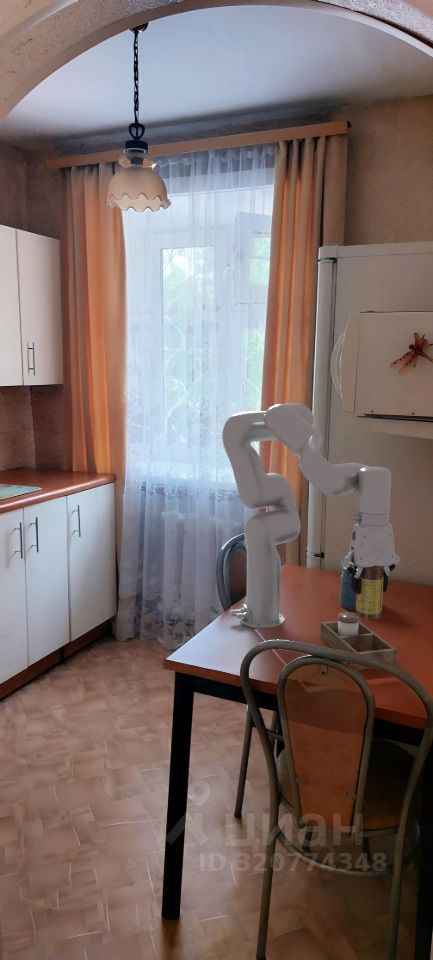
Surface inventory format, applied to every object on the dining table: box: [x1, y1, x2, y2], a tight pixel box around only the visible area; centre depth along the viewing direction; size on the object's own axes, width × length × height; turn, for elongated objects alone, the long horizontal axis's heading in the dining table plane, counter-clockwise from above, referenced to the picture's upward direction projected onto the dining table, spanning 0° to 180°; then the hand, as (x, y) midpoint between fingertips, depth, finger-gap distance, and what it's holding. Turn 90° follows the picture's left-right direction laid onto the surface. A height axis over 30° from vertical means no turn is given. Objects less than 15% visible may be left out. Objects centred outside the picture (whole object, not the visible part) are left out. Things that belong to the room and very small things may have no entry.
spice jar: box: [337, 611, 360, 637], centre depth 172 cm, size 5×5×7 cm
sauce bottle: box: [355, 565, 384, 621], centre depth 160 cm, size 7×6×20 cm
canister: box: [338, 562, 356, 612], centre depth 202 cm, size 13×13×18 cm
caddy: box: [319, 620, 398, 671], centre depth 167 cm, size 11×20×5 cm, turn 15°
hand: (369, 590), depth 160 cm, fingers closed on sauce bottle, 6 cm apart
